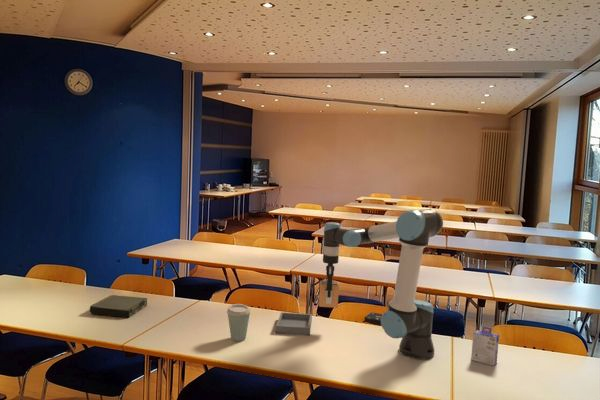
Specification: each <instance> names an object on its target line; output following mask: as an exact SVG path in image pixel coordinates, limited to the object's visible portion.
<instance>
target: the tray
mask: <svg viewBox="0 0 600 400" xmlns="http://www.w3.org/2000/svg"><path fill="white" fill-rule="evenodd" d="M312 321H313V314H311V313H299V312H297V313H296V312H283V311H280V314H279V317H278V319H277V323H276V326H275V327H276V328H275V333H276V334H288V335H298V334H301V335H300V336H310V335H311V328H312Z"/></svg>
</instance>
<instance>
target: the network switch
mask: <svg viewBox="0 0 600 400" xmlns="http://www.w3.org/2000/svg"><path fill="white" fill-rule="evenodd" d="M147 305H148V298H147V297H137V296H129V295H128V296H127V295H117V294H112V295H108V296H106V297H104V298H102V299H100V300H99V301H97V302H95V303H93V304H91V305H90V306H89V312H90V314H92V315H95V316H105V317H114V318H122V319H129V318H130V317H132V316H133V315H135V314H136V313H138V312H139V311H140V310H142V309H143V308H144V307H147Z"/></svg>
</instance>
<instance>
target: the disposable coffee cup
mask: <svg viewBox="0 0 600 400" xmlns="http://www.w3.org/2000/svg"><path fill="white" fill-rule="evenodd" d="M226 313H227V319H228V325H229V333H230V338H231V340H232V341H233V342H243V341H245V340H246V338H247V332H248V328H249V327H248V326H249V321H250V314H251V308H250V307H249V306H248V305H245V304H242V303H235V304H231V305H228V308H227V311H226Z"/></svg>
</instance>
